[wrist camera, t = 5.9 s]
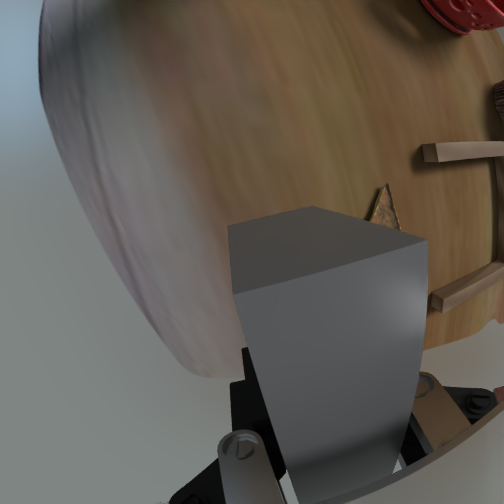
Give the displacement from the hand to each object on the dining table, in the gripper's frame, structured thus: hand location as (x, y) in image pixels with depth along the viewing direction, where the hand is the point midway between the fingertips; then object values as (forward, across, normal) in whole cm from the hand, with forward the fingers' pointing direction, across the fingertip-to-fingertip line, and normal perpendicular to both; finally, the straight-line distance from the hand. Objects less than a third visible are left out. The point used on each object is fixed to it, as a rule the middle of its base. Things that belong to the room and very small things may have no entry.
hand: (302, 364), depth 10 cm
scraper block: (0, 0, 0) cm, 0 cm away
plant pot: (+16, -34, -30) cm, 48 cm away
